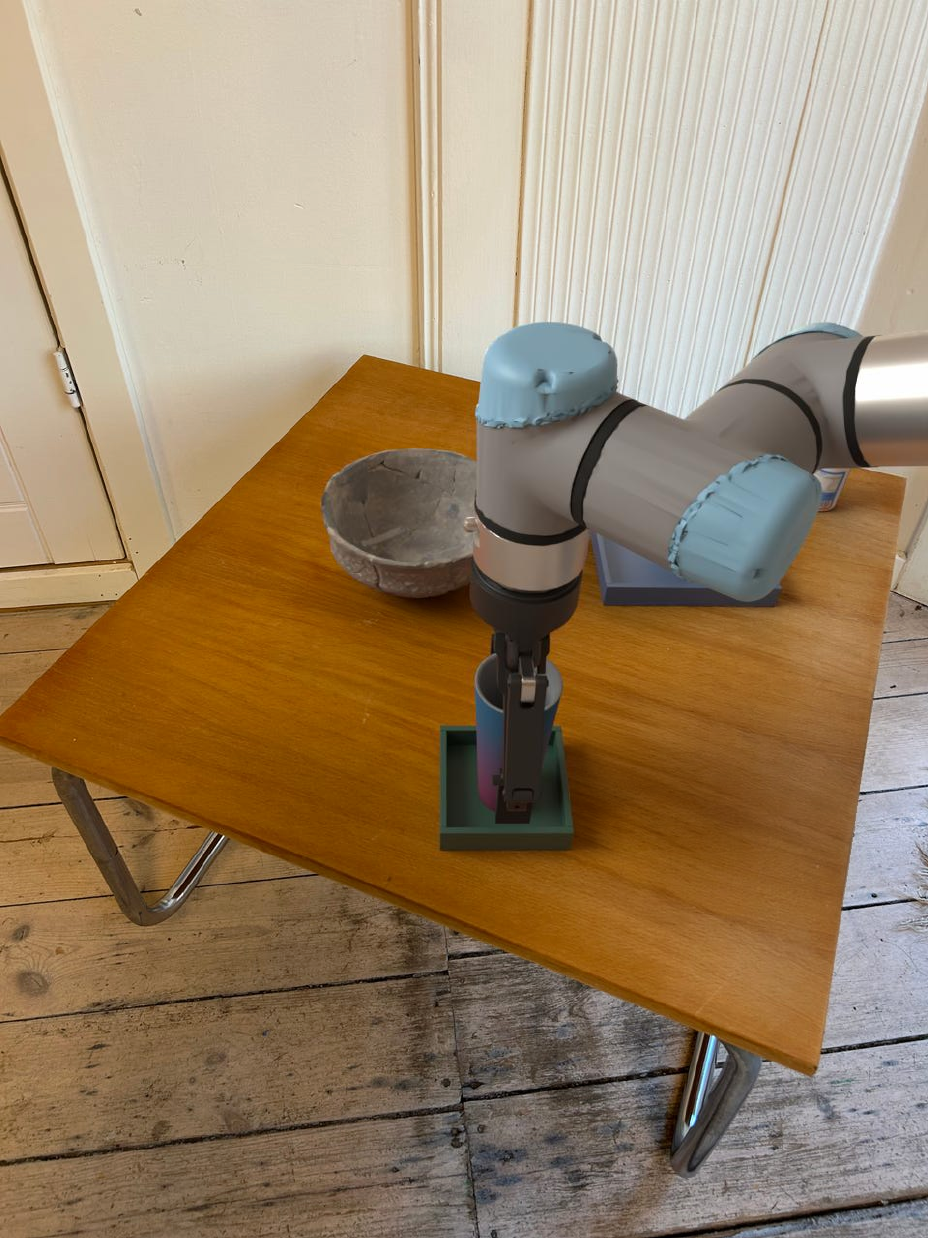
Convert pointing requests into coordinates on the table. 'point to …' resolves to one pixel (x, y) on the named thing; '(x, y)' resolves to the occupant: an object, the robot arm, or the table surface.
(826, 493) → the pill bottle
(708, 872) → the table surface
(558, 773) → the near tray
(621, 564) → the far tray
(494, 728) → the cup
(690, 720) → the table surface
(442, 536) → the bowl
